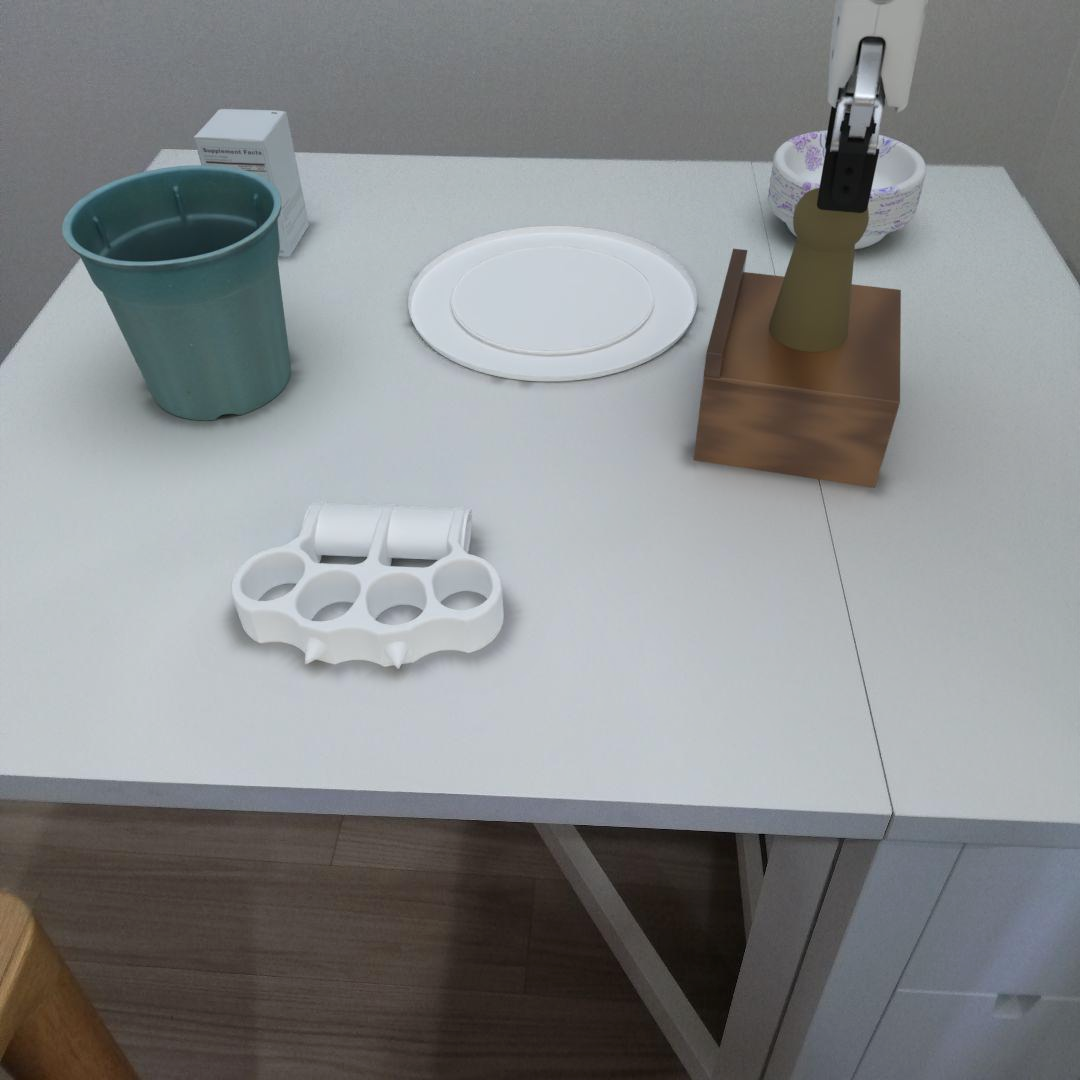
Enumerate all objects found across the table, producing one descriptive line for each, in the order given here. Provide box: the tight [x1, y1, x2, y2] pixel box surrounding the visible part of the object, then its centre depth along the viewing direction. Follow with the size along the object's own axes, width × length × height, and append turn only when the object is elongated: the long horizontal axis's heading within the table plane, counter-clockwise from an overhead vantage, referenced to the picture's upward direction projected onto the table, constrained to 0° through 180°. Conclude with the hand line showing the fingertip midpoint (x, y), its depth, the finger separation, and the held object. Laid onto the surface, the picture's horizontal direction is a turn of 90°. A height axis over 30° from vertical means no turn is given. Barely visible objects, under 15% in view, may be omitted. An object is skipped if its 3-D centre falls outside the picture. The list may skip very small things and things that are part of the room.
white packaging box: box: [193, 108, 310, 258], centre depth 101 cm, size 7×7×13 cm
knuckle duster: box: [230, 500, 505, 670], centre depth 67 cm, size 3×18×15 cm
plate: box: [407, 225, 698, 383], centre depth 95 cm, size 28×28×1 cm
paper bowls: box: [767, 129, 927, 250], centre depth 102 cm, size 15×15×8 cm
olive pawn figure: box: [769, 188, 869, 352], centre depth 72 cm, size 6×6×11 cm
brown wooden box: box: [693, 248, 902, 489], centre depth 78 cm, size 14×16×10 cm
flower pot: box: [61, 164, 292, 421], centre depth 81 cm, size 16×16×16 cm
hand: (844, 178), depth 67 cm, fingers open, 9 cm apart
